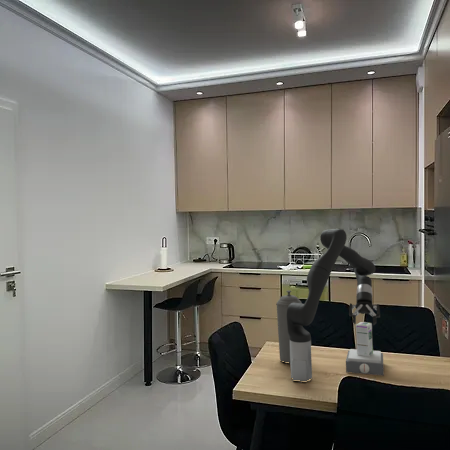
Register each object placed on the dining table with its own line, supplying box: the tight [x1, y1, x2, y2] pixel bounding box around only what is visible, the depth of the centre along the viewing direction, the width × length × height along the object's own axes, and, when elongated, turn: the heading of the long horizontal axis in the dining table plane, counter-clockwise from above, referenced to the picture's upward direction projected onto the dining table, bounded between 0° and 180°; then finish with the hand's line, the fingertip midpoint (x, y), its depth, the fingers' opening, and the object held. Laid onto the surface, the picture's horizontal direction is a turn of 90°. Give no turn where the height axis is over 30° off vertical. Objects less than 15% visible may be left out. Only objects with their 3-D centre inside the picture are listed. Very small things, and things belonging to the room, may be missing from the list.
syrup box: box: [355, 321, 374, 357], centre depth 196 cm, size 6×6×14 cm
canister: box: [276, 290, 302, 363], centre depth 209 cm, size 13×13×35 cm
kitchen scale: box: [345, 348, 385, 377], centre depth 195 cm, size 17×16×6 cm
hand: (364, 323), depth 199 cm, fingers open, 8 cm apart
